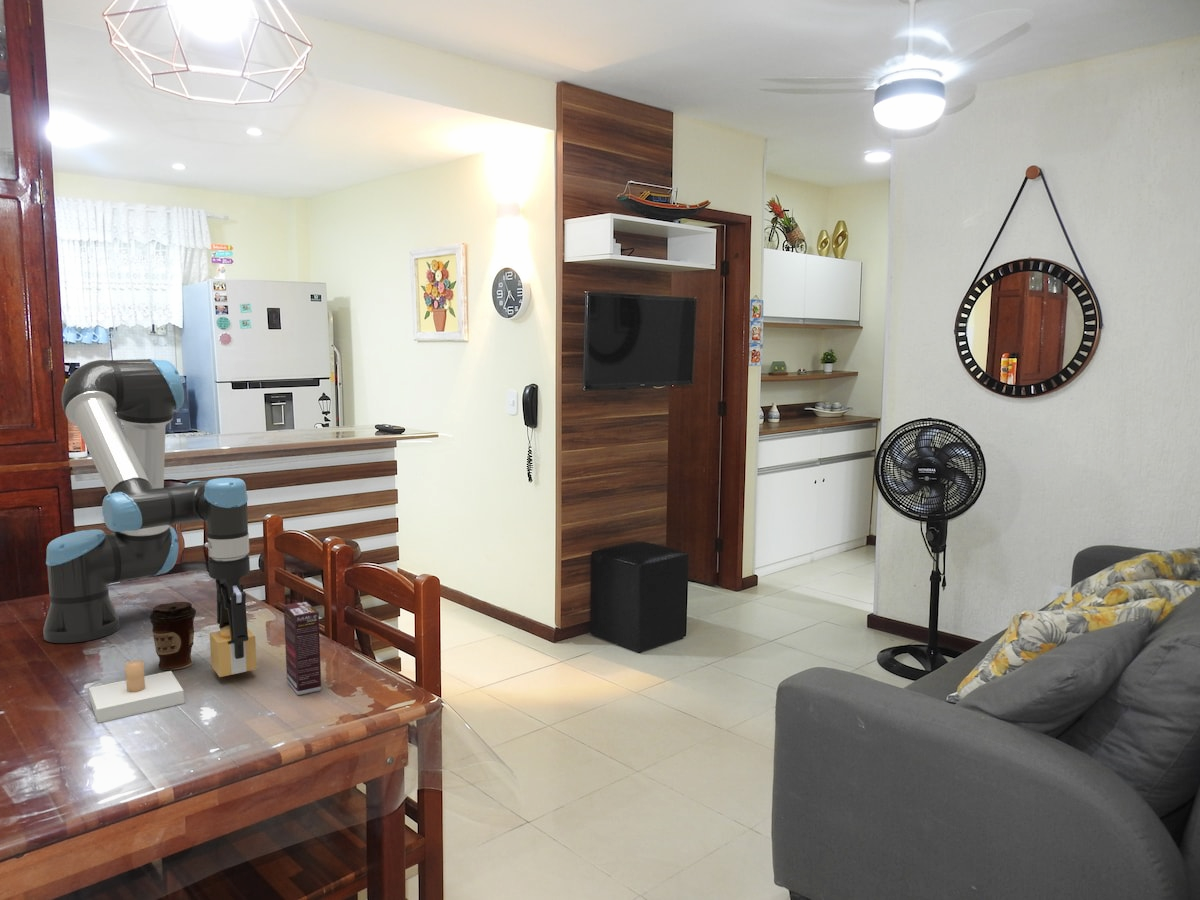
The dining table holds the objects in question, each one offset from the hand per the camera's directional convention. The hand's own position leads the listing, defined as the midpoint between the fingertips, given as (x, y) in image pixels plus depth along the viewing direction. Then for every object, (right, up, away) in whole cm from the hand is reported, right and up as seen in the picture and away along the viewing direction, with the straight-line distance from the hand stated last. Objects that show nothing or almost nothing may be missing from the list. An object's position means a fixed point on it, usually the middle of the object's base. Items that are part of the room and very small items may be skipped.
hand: (233, 666), depth 170 cm
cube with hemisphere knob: (0, 0, 0) cm, 0 cm away
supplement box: (+16, -3, -5) cm, 17 cm away
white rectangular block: (-13, -4, -12) cm, 18 cm away
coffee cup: (-15, -2, +5) cm, 16 cm away
